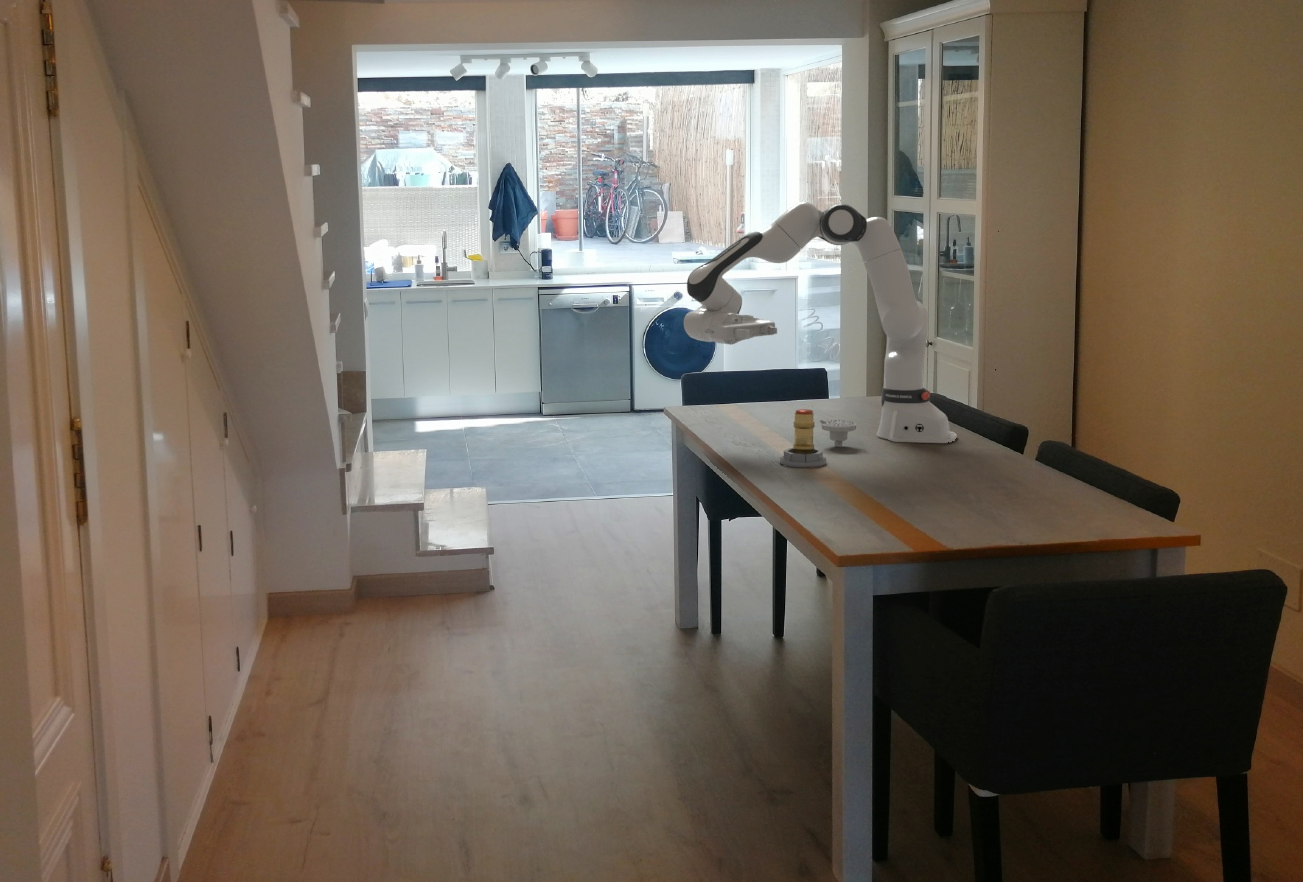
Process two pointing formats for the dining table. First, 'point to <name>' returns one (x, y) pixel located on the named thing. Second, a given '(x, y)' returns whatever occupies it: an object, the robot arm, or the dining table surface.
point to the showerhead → (838, 430)
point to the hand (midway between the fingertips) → (763, 332)
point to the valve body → (803, 431)
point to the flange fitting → (803, 459)
